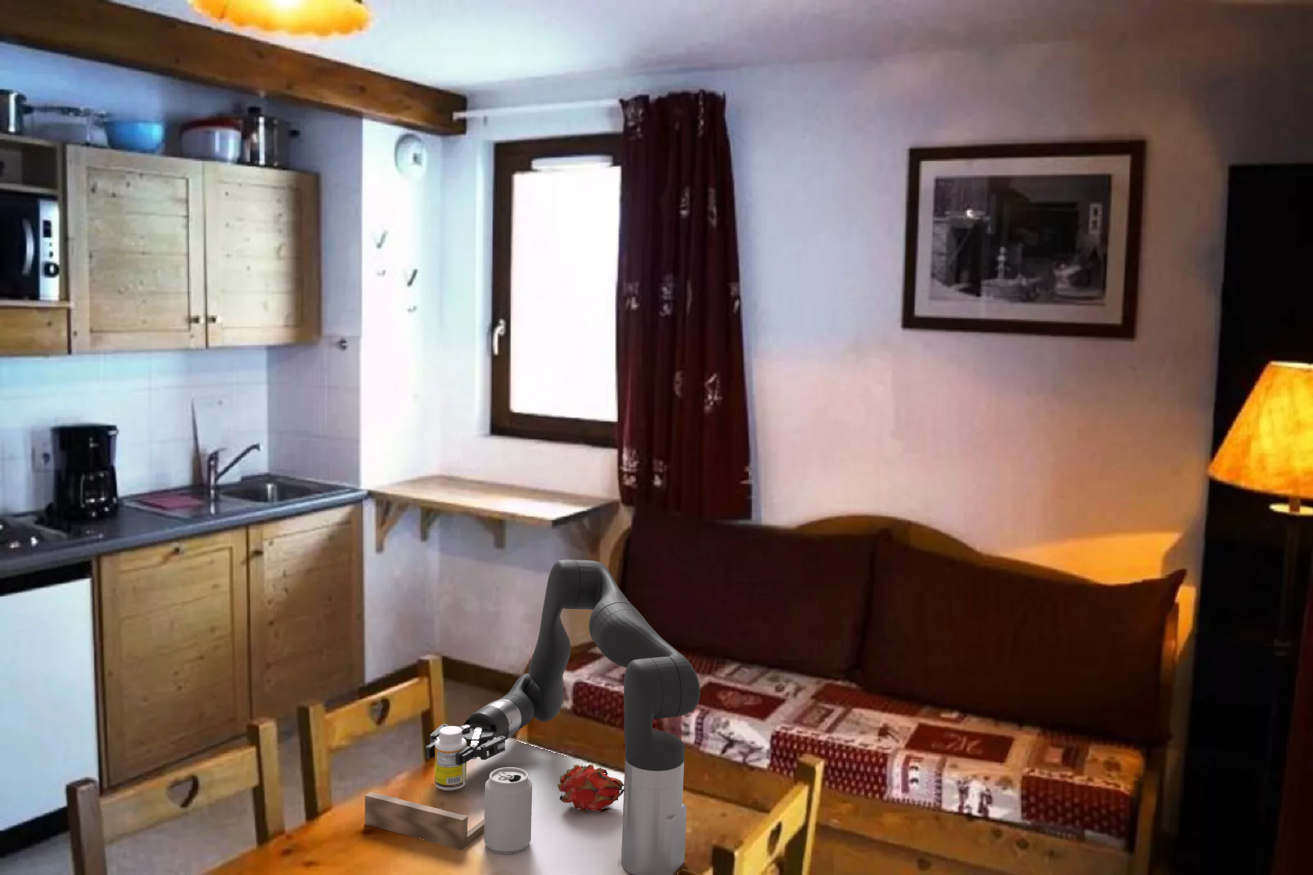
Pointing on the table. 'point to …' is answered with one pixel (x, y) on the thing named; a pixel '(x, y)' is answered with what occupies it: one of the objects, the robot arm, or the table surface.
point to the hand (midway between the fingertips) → (442, 756)
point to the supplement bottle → (449, 759)
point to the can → (508, 810)
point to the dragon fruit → (589, 788)
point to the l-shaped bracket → (420, 821)
